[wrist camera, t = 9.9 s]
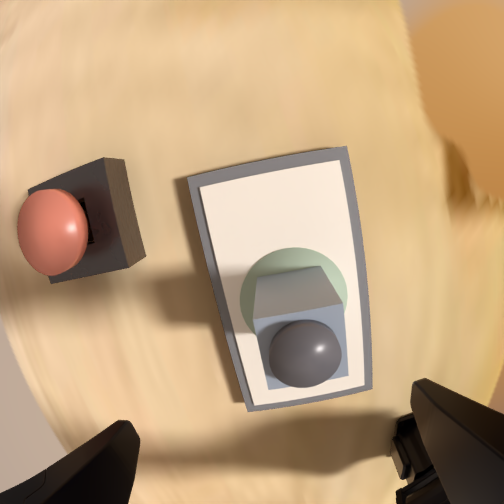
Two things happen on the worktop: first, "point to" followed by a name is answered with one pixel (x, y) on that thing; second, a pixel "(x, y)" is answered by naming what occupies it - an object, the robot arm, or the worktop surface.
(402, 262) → the worktop surface
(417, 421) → the robot arm
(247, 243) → the drawing board
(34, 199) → the button
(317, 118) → the worktop surface
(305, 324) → the grey rectangular block
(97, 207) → the button housing
